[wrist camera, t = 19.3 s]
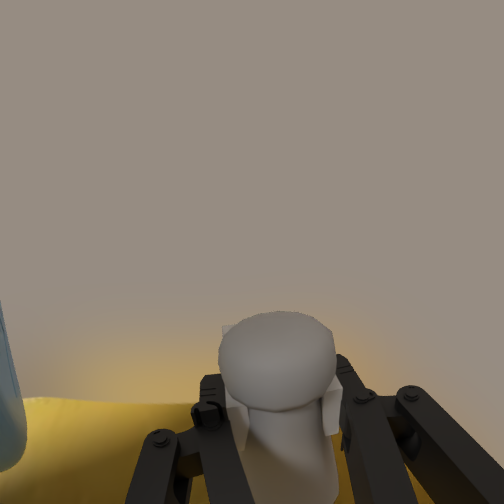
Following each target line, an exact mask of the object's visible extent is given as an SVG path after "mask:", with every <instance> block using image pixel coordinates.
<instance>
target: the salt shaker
mask: <svg viewBox="0 0 504 504" xmlns="http://www.w3.org/2000/svg"><path fill="white" fill-rule="evenodd" d="M336 364H337V358H336V352H335V346H334V340H333V335H332V331H330V330H329V329H328V328H327V327H325V326H324V325H323V324H321V323H320V322H319V321H318V320H316V319H315V318H314V317H311V316H308V315H305V314H302V313H298V312H285V311H276V312H269V313H261V314H257V315H254V316H252V317H249V318H247V319H244V320H242V321H240V322H239V323H238V324H236V325H235V326H234V327H232V328H231V329H230V330H229V331H228V332H227V333H226V334H225V335H224V336H223V339H222V341H221V344H220V347H219V357H218V365H219V368H220V372H221V376H222V379H223V381H224V384H225V386H226V388H227V391H228V393H229V394H230V396H231V397H232V398H233V399H235V400H236V401H238V402H239V403H241V404H243V405H244V406H246V407H247V409H248V416H249V422H250V425H249V430H248V434H247V439H246V444H245V449H244V451H238V454H239V457H240V460H241V463H242V466H243V469H244V472H245V475H246V478H247V481H248V484H249V487H250V490H251V493H252V496H253V498H254V501H255V504H333V503H334V502H335V500H336V498H337V496H338V494H339V482H338V472H337V466H336V461H335V455H334V450H333V445H332V440H331V435H329V436H325V434H324V431H323V428H322V413H321V406H320V398H321V397H323V395H324V394H325V392H326V390H327V389H328V387H329V386H330V384H331V382H332V380H333V378H334V376H335V372H336Z"/></svg>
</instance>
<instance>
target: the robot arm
mask: <svg viewBox="0 0 504 504" xmlns="http://www.w3.org/2000/svg"><path fill="white" fill-rule="evenodd" d="M234 326H235V325H228V326H222V332H223V336H224V335H225V334H226V333H227V332H228V331H229V330H230V329H231V328H232V327H234ZM336 358H337V364H336V372H335V376H334V378H333V380H332V382H331V384H330V386H329V387H328V389H327V390H326V392H325V394H324V395H323V397H321V398H320V406H321V413H322V428H323V431H324V434H325V436H329V435H334V434H338V433H339V425H340V428H341V430H342V432H343V434H342V442H341V451H343V448H344V452H345V457H346V461H347V466H348V471H349V475H350V480H351V485H352V490H353V495H354V500H355V504H418V501H417V498H416V495H415V492H414V490H413V487H412V484H411V481H410V478H409V475H408V473H407V470H406V467H405V464H406V465H407V467H408V468H409V469H410V471H411V472H412V473H413V475H414V476H415V477H416V479H417V480H418V481H419V483H420V484H421V485H422V487H423V488H424V489H425V491H426V492H427V493H428V495H429V496H430V497H431V499H432V500H433V501H434V503H435V504H504V469H503V468H502V467H501V466H500V465H499V464H498V463H497V462H496V461H495V460H494V459H493V458H492V457H491V456H490V455H489V454H488V453H487V452H486V451H485V450H484V449H483V448H482V447H481V446H480V445H479V444H478V443H477V442H476V441H475V440H474V439H473V438H472V437H471V436H470V435H469V434H468V433H467V432H466V431H465V430H464V429H463V428H462V427H461V426H460V425H459V424H458V423H457V422H456V421H455V420H454V419H453V418H452V417H451V416H450V415H449V414H448V413H447V412H446V411H445V410H444V409H443V408H442V407H441V406H440V405H439V404H438V403H437V402H436V401H435V400H434V399H433V398H432V397H431V396H430V395H428V393H426V392H425V391H424V390H423V389H422V388H420V387H418V386H412V385H409V386H404V387H402V388H400V389H399V390H398V392H397V395H396V396H378V395H377V394H376V393H375V392H374V391H372V390H370V389H367V388H365V386H364V384H363V383H362V381H361V380H360V378H359V377H358V375H357V373H356V372H355V371H354V369H353V367H352V366H351V364H350V363H349V361H348V359H346V358H345V357H344V356H342V355H340V354H336ZM191 416H192V419H193V422H194V425H195V426H194V427H192V428H191V429H189V430H187V431H185V432H181V433H178V434H175V432H173V431H171V430H168V429H157V430H155V431H152V432H151V433H149V434H148V435H147V437H146V438H145V440H144V443H143V447H142V450H141V453H140V456H139V459H138V462H137V465H136V468H135V471H134V474H133V478H132V481H131V484H130V487H129V490H128V494H127V497H126V500H125V504H189V500H190V493H191V487H192V480H193V477H195V476H199V475H202V474H204V477H205V482H206V487H207V492H208V496H209V501H210V504H255V501H254V498H253V496H252V493H251V490H250V487H249V484H248V481H247V478H246V475H245V472H244V469H243V466H242V463H241V460H240V457H239V454H238V451H244V449H245V444H246V439H247V434H248V430H249V425H250V422H249V416H248V409H247V407H246V406H244V405H243V404H241V403H239V402H238V401H236V400H235V399H233V398H232V397H231V396H230V394H229V393H228V391H227V388H226V386H225V384H224V381H223V379H222V376H221V374H212V375H205V376H204V377H203V379H202V380H201V382H200V398H199V402H198V403H196V404H194V406H193V407H192V408H191ZM26 442H27V421H26V415H25V410H24V405H23V400H22V396H21V392H20V388H19V384H18V380H17V375H16V371H15V367H14V363H13V359H12V355H11V350H10V346H9V342H8V337H7V332H6V328H5V322H4V318H3V313H2V307H1V302H0V472H3V471H5V470H8V469H10V468H12V467H13V466H15V465H16V464H17V463H18V462H19V461H20V459H21V458H22V456H23V454H24V451H25V448H26ZM403 461H404V462H403ZM404 463H405V464H404Z"/></svg>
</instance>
